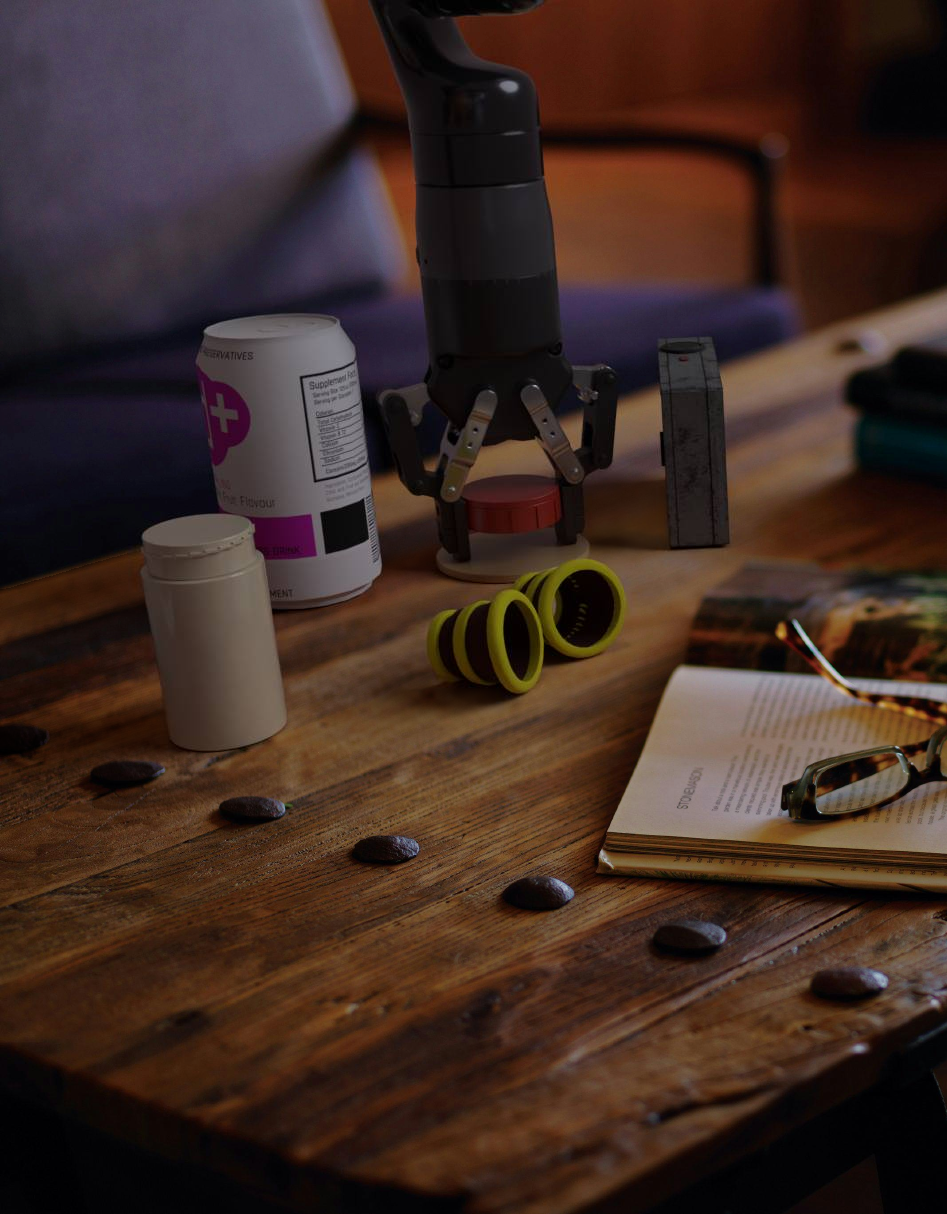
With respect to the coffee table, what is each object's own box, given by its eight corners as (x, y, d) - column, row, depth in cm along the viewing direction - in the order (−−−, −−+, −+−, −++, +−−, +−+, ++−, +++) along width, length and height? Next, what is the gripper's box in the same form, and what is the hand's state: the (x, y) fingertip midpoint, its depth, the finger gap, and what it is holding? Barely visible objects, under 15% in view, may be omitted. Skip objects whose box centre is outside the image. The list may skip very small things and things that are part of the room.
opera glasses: (561, 640, 86) (540, 550, 85) (638, 639, 83) (617, 546, 82) (431, 706, 79) (406, 608, 77) (511, 708, 76) (485, 606, 75)
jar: (167, 759, 72) (131, 554, 69) (170, 713, 77) (136, 519, 73) (290, 740, 74) (260, 539, 70) (285, 697, 78) (257, 506, 75)
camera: (662, 475, 113) (654, 331, 109) (719, 472, 113) (712, 329, 110) (666, 550, 97) (656, 386, 94) (732, 547, 98) (725, 383, 94)
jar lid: (550, 533, 93) (547, 502, 93) (450, 534, 94) (446, 503, 93) (569, 503, 99) (567, 473, 98) (474, 504, 99) (471, 474, 98)
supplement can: (252, 624, 87) (209, 347, 82) (221, 580, 94) (179, 322, 89) (400, 595, 91) (368, 328, 86) (360, 555, 98) (328, 306, 93)
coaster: (428, 587, 92) (427, 578, 92) (445, 537, 101) (445, 530, 101) (587, 578, 93) (587, 570, 93) (592, 530, 101) (591, 522, 101)
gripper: (371, 285, 85) (407, 589, 91) (632, 260, 90) (650, 547, 96) (344, 266, 91) (380, 551, 97) (590, 244, 97) (609, 514, 103)
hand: (514, 548), depth 97 cm, fingers closed on jar lid, 6 cm apart
